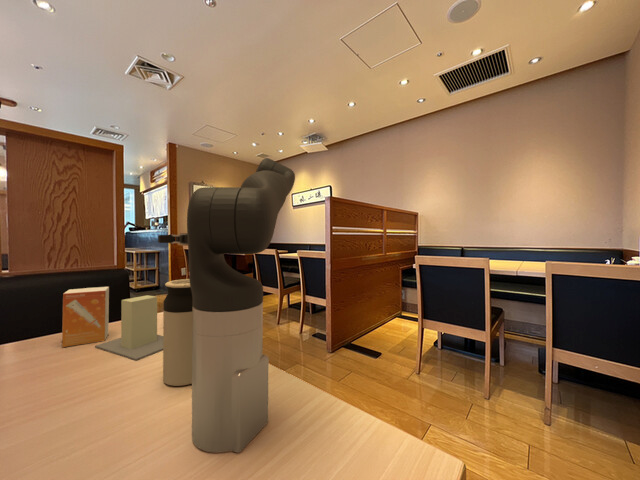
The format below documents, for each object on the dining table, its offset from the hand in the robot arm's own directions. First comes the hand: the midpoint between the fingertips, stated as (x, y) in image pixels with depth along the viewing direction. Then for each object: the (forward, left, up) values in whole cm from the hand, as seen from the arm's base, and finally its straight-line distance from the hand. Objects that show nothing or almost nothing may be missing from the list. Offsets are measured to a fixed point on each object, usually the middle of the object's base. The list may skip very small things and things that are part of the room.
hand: (169, 239), depth 68 cm
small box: (+17, +10, -26) cm, 33 cm away
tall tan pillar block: (+2, +6, -26) cm, 26 cm away
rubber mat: (+2, +6, -26) cm, 27 cm away
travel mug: (-21, +11, -26) cm, 35 cm away
